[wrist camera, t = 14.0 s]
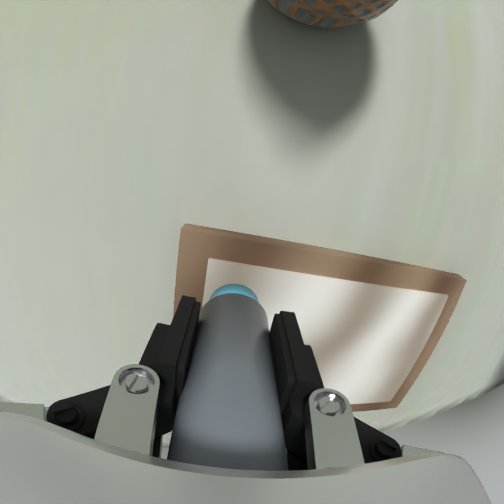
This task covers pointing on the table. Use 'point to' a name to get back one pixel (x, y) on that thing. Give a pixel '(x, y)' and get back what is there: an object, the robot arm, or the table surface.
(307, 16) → the vase
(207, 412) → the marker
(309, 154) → the table surface
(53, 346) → the table surface
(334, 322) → the brown picture frame
